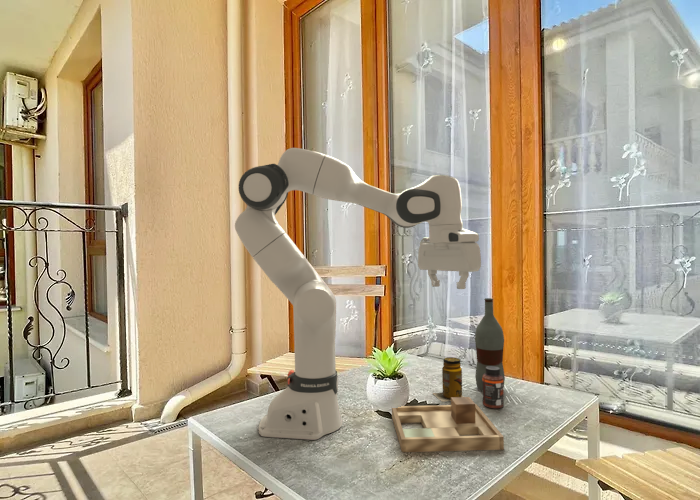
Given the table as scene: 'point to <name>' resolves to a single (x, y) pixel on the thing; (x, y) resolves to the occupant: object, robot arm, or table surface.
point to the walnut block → (462, 410)
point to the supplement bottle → (493, 388)
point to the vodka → (488, 344)
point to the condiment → (451, 379)
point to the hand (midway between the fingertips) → (448, 287)
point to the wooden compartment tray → (444, 430)
